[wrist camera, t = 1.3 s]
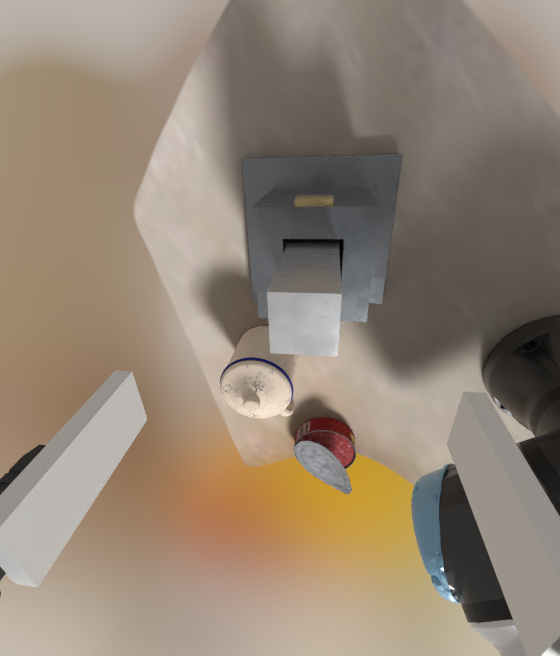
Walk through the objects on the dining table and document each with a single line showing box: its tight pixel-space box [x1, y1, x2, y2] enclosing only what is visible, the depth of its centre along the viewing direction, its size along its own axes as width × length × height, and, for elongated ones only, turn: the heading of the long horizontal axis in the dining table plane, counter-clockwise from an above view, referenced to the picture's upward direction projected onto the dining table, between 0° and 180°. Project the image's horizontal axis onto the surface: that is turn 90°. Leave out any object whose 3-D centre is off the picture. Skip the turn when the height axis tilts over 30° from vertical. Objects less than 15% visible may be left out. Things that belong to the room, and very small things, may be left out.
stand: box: [242, 154, 402, 322], centre depth 33 cm, size 16×16×12 cm
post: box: [267, 239, 342, 357], centre depth 28 cm, size 4×4×20 cm
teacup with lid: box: [220, 326, 297, 418], centre depth 43 cm, size 12×9×12 cm
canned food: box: [294, 417, 356, 494], centre depth 53 cm, size 11×10×10 cm
